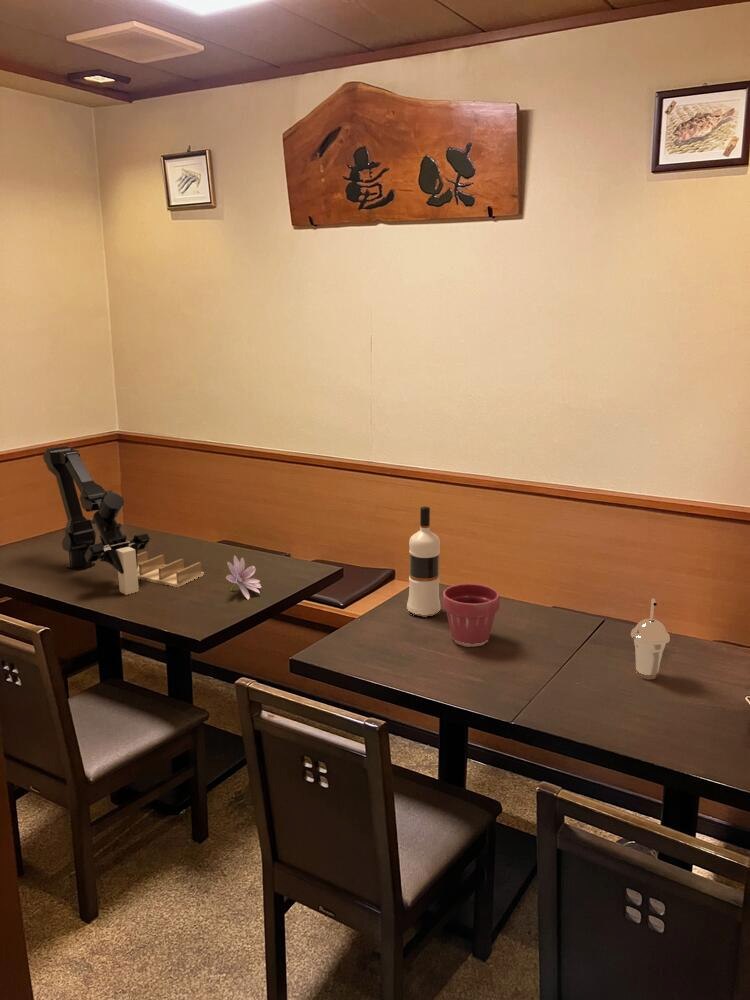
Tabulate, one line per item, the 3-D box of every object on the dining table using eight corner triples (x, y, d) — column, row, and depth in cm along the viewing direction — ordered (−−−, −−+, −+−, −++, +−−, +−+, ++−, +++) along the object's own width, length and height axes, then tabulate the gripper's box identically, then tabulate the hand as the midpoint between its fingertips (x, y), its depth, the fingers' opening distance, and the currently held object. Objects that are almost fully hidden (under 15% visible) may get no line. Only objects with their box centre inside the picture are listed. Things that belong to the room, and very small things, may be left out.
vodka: (412, 620, 216) (413, 512, 208) (402, 607, 224) (403, 503, 217) (445, 616, 218) (447, 510, 210) (434, 604, 227) (436, 501, 219)
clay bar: (119, 591, 236) (115, 549, 233) (132, 588, 239) (128, 546, 236) (126, 595, 234) (122, 552, 230) (138, 591, 236) (135, 549, 233)
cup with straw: (672, 674, 185) (680, 593, 180) (655, 689, 179) (664, 605, 173) (636, 663, 191) (643, 584, 185) (619, 677, 184) (626, 595, 179)
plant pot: (432, 633, 208) (433, 586, 204) (481, 625, 212) (482, 579, 209) (457, 656, 195) (458, 607, 191) (508, 647, 199) (510, 599, 196)
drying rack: (120, 575, 250) (119, 561, 249) (148, 563, 260) (147, 550, 259) (177, 587, 239) (176, 573, 238) (203, 575, 249) (203, 561, 248)
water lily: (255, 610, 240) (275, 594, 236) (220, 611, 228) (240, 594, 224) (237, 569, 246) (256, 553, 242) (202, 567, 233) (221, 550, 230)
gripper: (129, 535, 250) (149, 577, 245) (71, 548, 237) (92, 593, 233) (140, 515, 243) (161, 558, 238) (81, 528, 230) (102, 574, 225)
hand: (129, 571), depth 234 cm, fingers closed on clay bar, 4 cm apart
